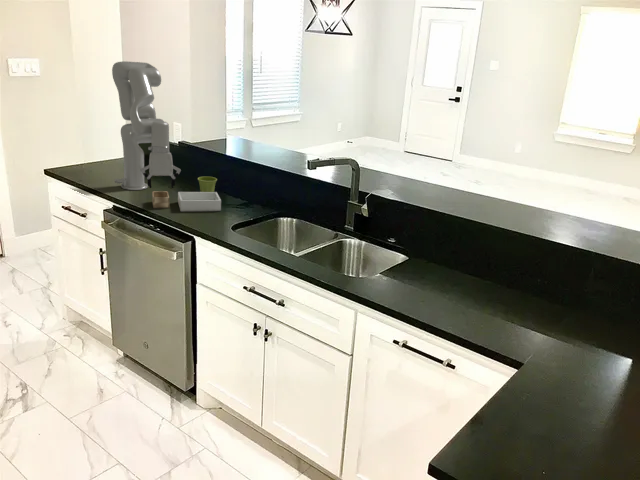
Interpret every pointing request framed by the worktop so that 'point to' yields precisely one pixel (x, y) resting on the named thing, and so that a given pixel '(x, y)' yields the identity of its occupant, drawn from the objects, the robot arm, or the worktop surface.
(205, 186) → the plant pot
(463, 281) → the worktop surface
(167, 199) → the small crate
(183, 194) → the box
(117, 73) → the robot arm
